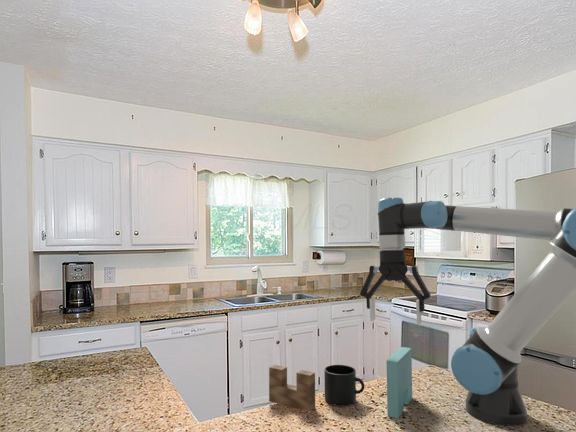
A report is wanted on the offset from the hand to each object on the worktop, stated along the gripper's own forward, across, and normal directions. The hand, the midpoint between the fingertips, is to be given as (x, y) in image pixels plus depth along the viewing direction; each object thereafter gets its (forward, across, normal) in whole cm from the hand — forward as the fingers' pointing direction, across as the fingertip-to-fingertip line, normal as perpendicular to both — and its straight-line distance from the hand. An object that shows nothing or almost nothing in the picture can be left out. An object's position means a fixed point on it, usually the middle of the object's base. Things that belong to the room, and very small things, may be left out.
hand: (395, 321), depth 115 cm
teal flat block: (+24, 0, 0) cm, 24 cm away
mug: (+24, +16, +3) cm, 29 cm away
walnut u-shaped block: (+24, +28, +13) cm, 39 cm away
